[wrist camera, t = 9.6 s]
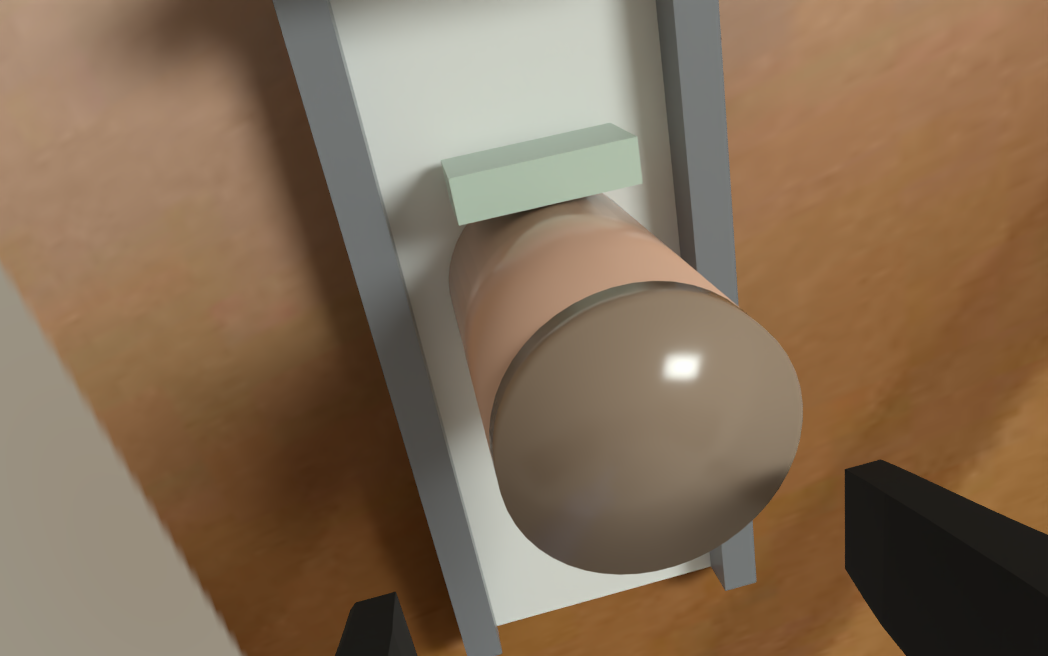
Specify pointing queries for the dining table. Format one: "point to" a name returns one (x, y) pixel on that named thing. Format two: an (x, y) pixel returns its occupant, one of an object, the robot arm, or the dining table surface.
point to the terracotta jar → (618, 388)
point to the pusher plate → (541, 172)
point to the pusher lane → (432, 229)
